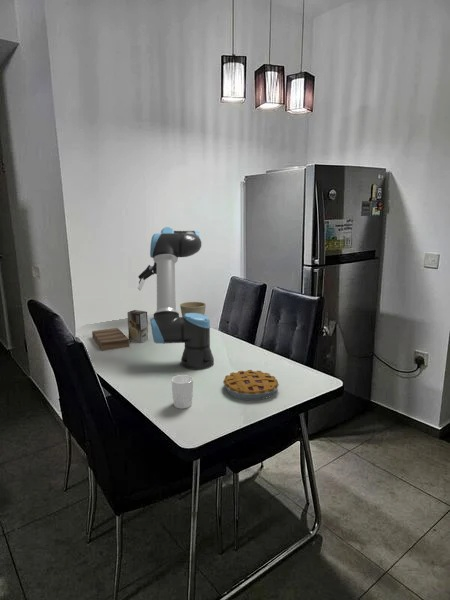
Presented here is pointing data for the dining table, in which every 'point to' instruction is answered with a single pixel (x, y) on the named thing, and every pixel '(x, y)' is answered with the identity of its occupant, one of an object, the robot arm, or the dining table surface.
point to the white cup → (182, 391)
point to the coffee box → (137, 326)
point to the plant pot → (192, 308)
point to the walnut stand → (110, 339)
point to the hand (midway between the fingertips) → (149, 290)
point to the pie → (250, 384)
